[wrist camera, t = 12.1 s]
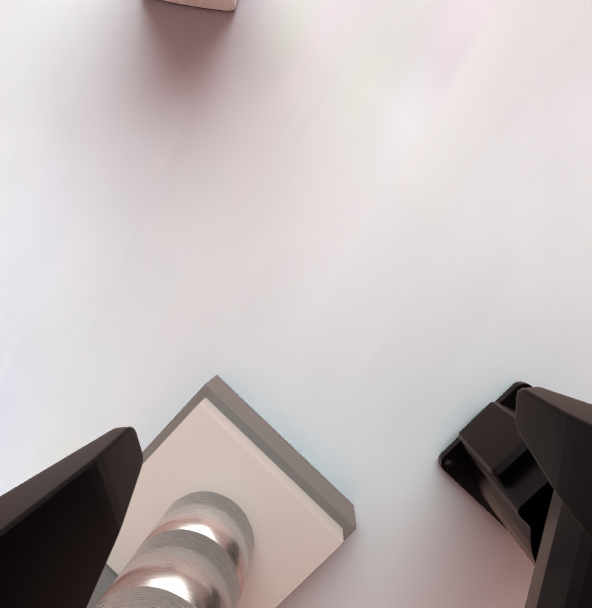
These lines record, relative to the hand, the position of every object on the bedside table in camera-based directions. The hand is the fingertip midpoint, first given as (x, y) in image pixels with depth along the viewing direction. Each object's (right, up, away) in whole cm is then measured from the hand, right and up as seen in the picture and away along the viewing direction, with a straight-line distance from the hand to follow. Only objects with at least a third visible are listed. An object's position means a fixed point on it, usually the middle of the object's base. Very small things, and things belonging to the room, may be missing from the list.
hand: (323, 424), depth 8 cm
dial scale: (-6, -10, +13) cm, 17 cm away
